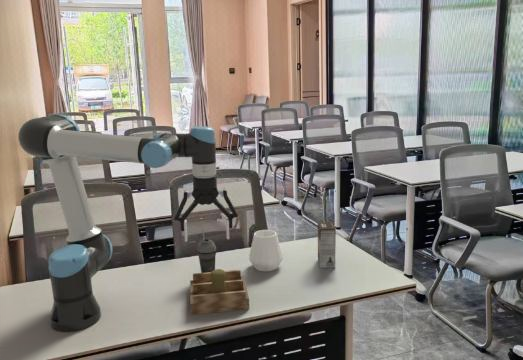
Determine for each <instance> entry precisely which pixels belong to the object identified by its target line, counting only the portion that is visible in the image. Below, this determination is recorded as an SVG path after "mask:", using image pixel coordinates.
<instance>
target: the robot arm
mask: <svg viewBox="0 0 523 360" xmlns="http://www.w3.org/2000/svg"><path fill="white" fill-rule="evenodd" d="M80 130H81V129H80V127H79V125H78V124H77V122H76V121H75V120H74V119H72V118H71V117H69V116H68V115H65V114H50V115H46V116H41V117H36V118H31V119H29V120H27V121H25V122H24V124H22V125H21V127H20V128H19V131H18V136H17V137H18V138H17V139H18V142H19V145H20V146H21V148H22V150H23V151H24V152H26V153H27V154H29V155H30V156H34V157H37V158H41V161H42V162H43V163H45V164H47V165H48V166H49V167H48V168H49V170H50V173H51V177H52V180H53V183H54V187H55V189H56V193H57V197H58V200H59V203H60V207H61V211H62V214H63V216H64V219H65V223H66V226H67V230H68V235H67V237H66V240H65V241H66V244H67V245H65V246H64V245H63V247H59V248H57V249H55V250H54V251H52V253H50V255H49V257H48V272H49V278H50V282H51V284H50V285H51V291H52V297H53V304H52V308H51V313H50V318H49V319H50V327H51V328H52V329H53V330H55V331H58V332H74V331H76V332H77V331H80V330H83V329H86V328H89V327H91V326H93V325H94V324H96V323H97V322H98V321H99V320H100V318H101V317H102V312H101V306H100V305H99V303H98V301H97V299H96V297H95V295H94V292H93V285H92V278H93V277H94V276H95V275H96V274H97V273H98V272H99V271H100V270H101V269H103V268H105V266H106V265H107V264H108V263H109V261H110V260H111V258H112V255H113V244H112V242H111V240H110V239H109V237H108V236H106V234H104V233H103V231H102V229H101V227H98V226H96V223H95V219H94V216H93V212H92V208H91V206H90V202H89V198H88V195H87V191H86V188H85V185H84V181H83V177H82V174H81V171H80V168H79V164H78V160H77V158H82V159H83V158H86V159H92V160H93V159H96V160H105V161H106V160H107V161H113V162H125V163H135V164H143V165H146V167H147V166H148V167H149V168H153V169H157V168H162V167H164V166H166V165H167V164H168V163H169V162H171V161H172V160H174V159H176V158H191V164H192V165H191V168H192V169H191V170H192V176H193V177H192V188H193V189H192V191H188V190H186V189H185V190H184V191H183V197H182V200H181V202H180V203H179V206H178V208H177V211H176V212H175V215H174V221H178V222H179V223H180V231H181V232H184V242H186V243H187V242H188V224H187V223H188V221H187V218H188V217H189V215H190V214H191V213H192V212H193V210H194V209H195V208H196V207H197V206H198V205H201V206H204V205H208V206H209V205H212V204H214V206H215V207H217V208H218V209H219V210H220V211H221V213H223V215H224V216H225V217H226V218H225V223H226V224H225V227H226V230H225V231H226V239H227V240H230V229H233V219H235V218H238V216H239V214H238V212H237V210H236V208H235V206H234V204H233V203H232V201H231V199H230V198H229V196H228V191H227V188H223V189H221V190H218V182H217V181H218V180H217V176H216V175H217V159H216V158H217V157H216V155H217V153H216V151H217V150H216V149H217V148H216V142H217V141H216V136H215V135H216V134H215V129H214V128H213V127H212V126H206V125H205V126H193V127H191V128H190V132H188V133H171V132H170V133H167V132H162V133H156V134H154V135H153V137H152V138H150V137H140V136H139V137H137V136H130V135H129V136H127V135H119V134H109V133H99V132H88V131H80ZM219 195H220V196H221V197H222V198H223V199H224V201H225V203H226V205H227V207H228V208H229V210H230V211H231V213H230V211H229V210H228V209H227V208H226V207H225V206H224V204H222V203H221V202H220V201H219V200H218V199H217V198H218V196H219ZM190 197H192V198H193V199H194V200H193V201H192V203H191V204H189V206H188V208H187V209H186V210H185V211H184V212H183V210H184V207H185V205H186V203H187V201H188V199H190ZM182 212H183V214H182ZM181 214H182V215H181Z"/></svg>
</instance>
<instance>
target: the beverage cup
mask: <svg viewBox="0 0 523 360" xmlns="http://www.w3.org/2000/svg"><path fill="white" fill-rule="evenodd" d="M201 233H202V238H203V240H201V241H200V242H199V243H198V245H197V249H196V252H197V256H198V260H199V266H200V267H199V268H200V273H207V272H212V271H213V270H216V255H217V246H216V244H215V242H214V241H213V240H212V239H207V238H206V237H205V232H204V228H201ZM205 238H206V239H205Z"/></svg>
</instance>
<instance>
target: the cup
mask: <svg viewBox="0 0 523 360" xmlns="http://www.w3.org/2000/svg"><path fill="white" fill-rule="evenodd" d="M279 241H280V240H279V238H278V234H277V232H276V231H274V230H272V229H262V230H261V229H260V230H256V231H255V232H254V233H253V237H252V241H251V242H252V243H251V246H250V247H251V248H250V251H249V254H248V255H249V257H248V260H249V262H250V263H251V265H252V266H253V268H254V269H255V270H257V271H260V272H271V271H275V270H276V269H278V268H279V266H280V265H281V263H282V261H283V260H284V259H283V258H284V257H283V255H284V254H283V252H282V248H281V245H280V242H279Z"/></svg>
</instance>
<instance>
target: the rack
mask: <svg viewBox="0 0 523 360" xmlns="http://www.w3.org/2000/svg"><path fill="white" fill-rule="evenodd" d="M224 271H225V273H226V278H225V285H226V291H227V292H222V293H211V288H212V280H211V278H210V274H211V272H207V273H201V272H199V273H192V280H189V281H190V285H189V286H190V294H189V295H190V296H189V297H190V298H189V301H190V303H189V305H190V315H198V314H199V315H200V314H201V315H202V314H209V313H210V314H211V313H212V314H213V313H220V312H231V311H241V310H250V298H249V293H248V290H247V285H246V281H245V277H244V275H241V273H242V271H241V269H233V270H224Z"/></svg>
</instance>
